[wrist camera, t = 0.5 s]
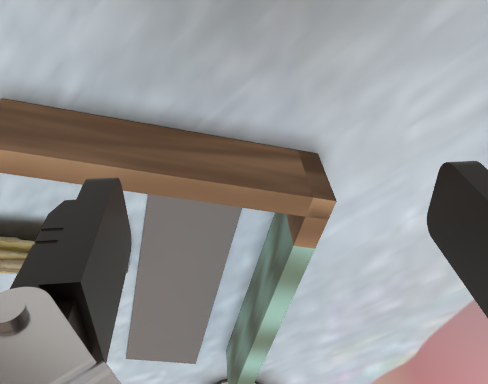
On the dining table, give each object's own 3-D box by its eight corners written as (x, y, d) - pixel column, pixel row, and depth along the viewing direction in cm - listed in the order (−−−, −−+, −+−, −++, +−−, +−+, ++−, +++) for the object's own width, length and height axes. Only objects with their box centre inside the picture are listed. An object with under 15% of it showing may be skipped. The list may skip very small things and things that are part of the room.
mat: (153, 154, 30) (153, 156, 29) (252, 170, 31) (252, 172, 31) (126, 356, 43) (125, 358, 43) (195, 361, 45) (195, 363, 44)
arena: (1, 98, 27) (-39, 143, 22) (317, 153, 31) (336, 201, 26) (23, 334, 40) (0, 391, 36) (240, 351, 44) (244, 404, 40)
